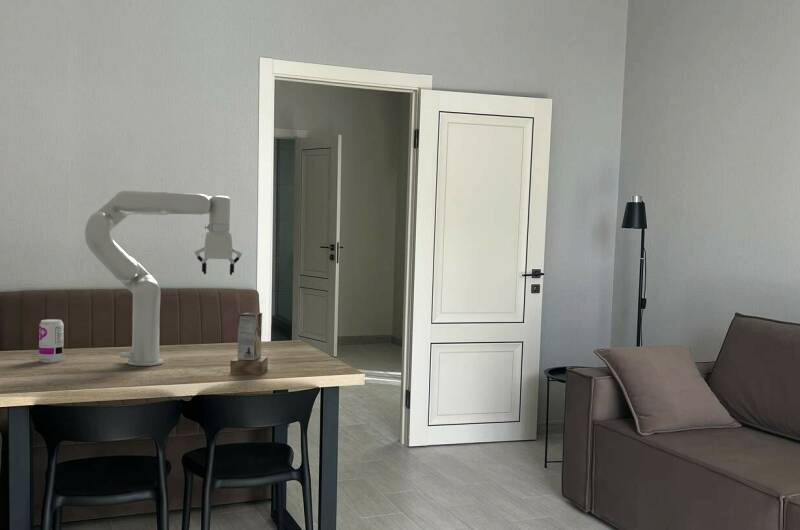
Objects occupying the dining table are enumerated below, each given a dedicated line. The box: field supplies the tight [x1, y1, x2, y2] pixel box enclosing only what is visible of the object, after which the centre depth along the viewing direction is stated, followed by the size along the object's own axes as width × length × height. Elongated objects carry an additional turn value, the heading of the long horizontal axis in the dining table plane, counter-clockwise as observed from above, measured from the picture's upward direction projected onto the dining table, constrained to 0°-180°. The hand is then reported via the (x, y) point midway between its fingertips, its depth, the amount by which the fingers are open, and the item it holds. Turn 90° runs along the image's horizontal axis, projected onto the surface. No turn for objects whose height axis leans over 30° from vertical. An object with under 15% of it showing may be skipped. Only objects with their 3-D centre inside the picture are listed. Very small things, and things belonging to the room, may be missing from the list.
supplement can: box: [38, 318, 65, 364], centre depth 297 cm, size 8×8×15 cm
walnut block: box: [229, 355, 269, 375], centre depth 290 cm, size 11×11×5 cm
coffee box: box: [237, 312, 263, 360], centre depth 290 cm, size 9×6×16 cm
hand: (217, 274), depth 306 cm, fingers open, 9 cm apart
